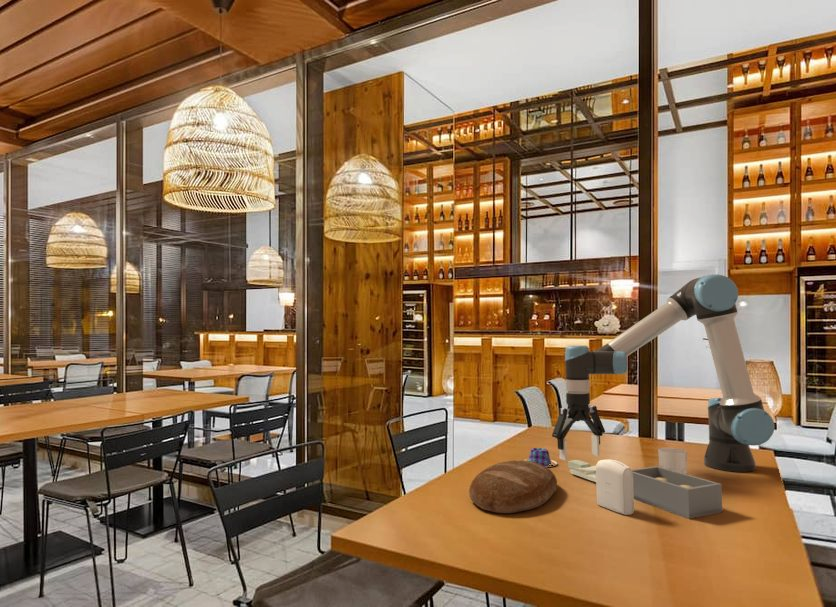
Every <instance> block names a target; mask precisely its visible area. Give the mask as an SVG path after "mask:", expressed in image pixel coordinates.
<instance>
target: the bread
mask: <svg viewBox="0 0 836 607" xmlns="http://www.w3.org/2000/svg"><path fill="white" fill-rule="evenodd" d="M557 486H558V479H557V477H556V475H555V474H554V472H553V471H552V470H551V469H550V468H549V467H548V466H543V465H541V464H539V463H535V462H532V461H526V460H525V459H523V460H508V461H507V460H506V461H502V462H498V463H496V464H493V465H490V466H489V467H486V468H485V469H484V470H482V471H481V472H479V473H478V474H476V476H475V477H474V478H473V480H472V482H471V484H470V486H469V489H468V492H469V493H468V494H469V498H470V501H472V502H473V503H474V504H475V505H476V506H477V507H479V508H480V509H482V510H484V511H486V510H487V511H486V512H490V511H491V513H496V514H497V513H498V514H513V513H520V512H523V511H524V512H525V511H529V510H533V509H536V508H538V507H541V506H542V505H544V504H545V503H547V501H549V499H551V497H552V495H553V494H554V493H555V491H556V490H557Z"/></svg>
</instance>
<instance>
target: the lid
mask: <svg viewBox="0 0 836 607" xmlns="http://www.w3.org/2000/svg"><path fill="white" fill-rule="evenodd" d="M567 468H569V473H570V474H572V475H575V476H578V477H580V478H582V479H586V480H589V481H592V482H595V483H596V465H591V463H589V462H586V461H584V460H583V461H582V460H580V459H574V460H573V459H572V460H567Z"/></svg>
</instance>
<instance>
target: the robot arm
mask: <svg viewBox="0 0 836 607" xmlns="http://www.w3.org/2000/svg"><path fill="white" fill-rule="evenodd" d="M738 298H739V290H738V286H737V285H736V283H735V282H734V281H733V280H732V279H731V278H729V277H728V276H725V275H723V274H715V273H714V274H707V275H703V276H701V277H698V278H694V279H692V280H689V281H688V282H687V283H686V284H685V285H683V286H682V287H681V288H680V289H678V290H677V291H676V292H675V293H673V294H672V295H670V296H669V297H667V300H666V302H665V303H664V304H663V305H661V306H659V307H658V308H657V309H655V310H654V311H653V312H651V313H650V314H648V315H647V316H645V317H644V318H642V319H641V320H639V321H637V322H636V323H635V324H633V325H632V326H631V327H629V328H627V329H626V330H624V331H623V332H621V333H620V334H619V335H617V336H616V337H614V338H612V339H611V340H610V341H608V342H607V343H606V344H605V345H603V346H601V347H600V348H598V349H595V350H593V351H590V349H589V347H588V346H587V345H568V346H566V347H565V351H564V352H565V356H564V364H565V365H564V367H565V370H564V371H565V391H566V394H565V399H566V400H565V403H566V404H567V408H564V407H559V411H558V412H559V413H558V417H557V420H556V423H555V425H554V428H553V431H552V434H551V437H552V438H555V439H557V449H558V450H559V456H558V457H559V459H560V460H562V461H568V456H567V455H568V454H567V453H568V452H567V448H568V447H567V439H566V436H567V435H568V433H569V432H570V431H571V430H570V429H571V428H572V427H573V425H574V424H575V423H576V422H580V421H583V422H584V423H585V425H587V427H588V428H589V430H590V431H591V433H592V434H591V435H590V436H591V440H590V441H591V455H592V456H597V457H600V446H601V437H602V436H603V434H604V433H605V432H606V430H605V427H604V425H603V423H602V420H601V418H600V416H599V413H598V408H597V406H596V405H592V404H591V394H590V390H591V389H590V375H616V376H617V375H625V374H627V372H628V370H629V369H628V368H629V367H628V366H629V364H628V363H629V362H628V356H630V355H632V354H633V353H634V352H636V351H638V350H639V349H640V348H642V347H643V346H645V345H647V344H648V343H649V342H651V341H652V340H654V339H655V338H657V337H658V336H659V335H662V334H663V333H664V332H665V331H667V330H668V329H670V328H672V327H673V326H674V325H676V324H677V323H679V322H680V321H687V320H689V319H691V318H692V317H694V316H696V320H697V321H698V322H700V323H701V324H702V325H703V326H704V330H705V334H706V337H707V342H708V345H709V350H710V353H711V357H712V360H713V363H714V367H715V368H714V369H715V371H716V375H717V379H718V383H719V387H720V390H721V394H722V397H711V398H710V399H709V400H708V402H707V404H708V406H707V412H708V414H707V415H708V445H707V447H706V450H705V453H704V457H703V464H704V465H705V466H706V467H709V468H711V469H715V470H716V469H717V470H720V471H728V472H738V473H739V472H740V473H744V472H754V471H756V470H757V468H756V467H757V466H756V460H755V458H754V455H753V452H752V450H751V447H750V446H759V445H763V444H765V443H766V442H768V441H770V438H772V436H773V434H774V431H775V421H774V419H773V417H772V416H771V415H770V414H769V413H768V412H767V411H766V410H765V409H764V405H763V404H764V403H763V401H762V397H761V396H759V395H757V394H755V392H754V389H753V386H752V380H751V377H750V374H749V370H748V367H747V363H746V360H745V356H744V352H743V347H742V345H741V341H740V337H739V333H738V329H737V327H736V326H737V325H736V322H735V318H736V316H737V314H738V313H739V312H738V308H737V304H736V303H737V300H738Z"/></svg>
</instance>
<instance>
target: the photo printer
mask: <svg viewBox="0 0 836 607" xmlns="http://www.w3.org/2000/svg"><path fill="white" fill-rule="evenodd" d="M595 466H596V482H595V484H596V486H595V487H596V503H597V505H598V506H599V507H602V508H604V509H608V510H610V511H613V512H616V513H618V514H622V515H626V516H630V515H633V514H634V512H635V499H634V490H633V472H632V470H633V469H632V468H631V467H629V466H628V465H627V464H625V463H623V462H621V461H619V460H615V459H610V458H609V459H608V458H607V459H600V460H598V461H597V463H596V465H595Z"/></svg>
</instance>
